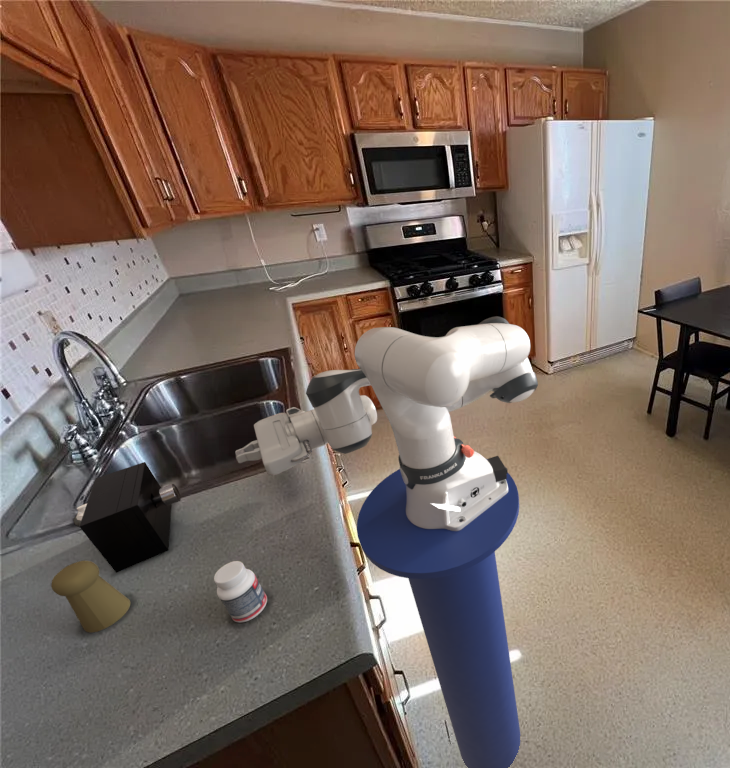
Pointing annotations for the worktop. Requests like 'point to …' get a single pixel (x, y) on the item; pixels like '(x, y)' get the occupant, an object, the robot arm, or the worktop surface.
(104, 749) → the worktop surface
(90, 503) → the control block
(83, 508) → the stove knob
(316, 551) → the worktop surface
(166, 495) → the push knob
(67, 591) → the cork
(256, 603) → the pill bottle
